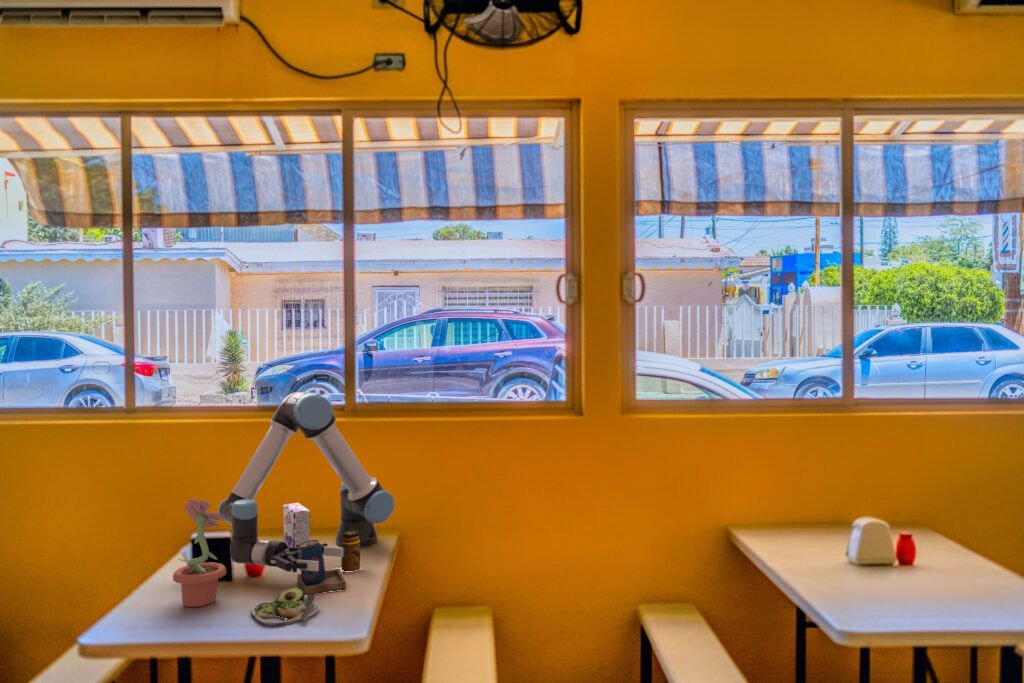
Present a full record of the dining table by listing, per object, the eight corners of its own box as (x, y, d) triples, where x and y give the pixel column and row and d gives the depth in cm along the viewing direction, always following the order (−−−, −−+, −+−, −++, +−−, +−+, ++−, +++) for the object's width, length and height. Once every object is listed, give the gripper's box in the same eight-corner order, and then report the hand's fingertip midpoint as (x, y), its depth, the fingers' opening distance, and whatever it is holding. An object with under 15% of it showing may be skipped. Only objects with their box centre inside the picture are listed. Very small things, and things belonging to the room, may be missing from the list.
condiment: (364, 570, 215) (364, 533, 215) (339, 575, 210) (338, 537, 210) (356, 564, 221) (356, 528, 221) (331, 568, 216) (331, 532, 216)
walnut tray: (339, 576, 208) (339, 568, 208) (345, 590, 197) (345, 581, 197) (297, 582, 203) (297, 574, 203) (301, 596, 192) (301, 587, 192)
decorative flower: (240, 597, 191) (239, 494, 192) (203, 615, 178) (202, 504, 179) (200, 591, 196) (200, 490, 197) (161, 608, 183) (161, 500, 184)
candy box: (282, 549, 237) (282, 504, 237) (299, 547, 240) (299, 501, 240) (293, 559, 225) (293, 511, 226) (310, 556, 229) (310, 509, 229)
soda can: (302, 589, 194) (295, 549, 193) (304, 580, 201) (297, 542, 200) (326, 583, 195) (319, 544, 195) (327, 575, 202) (321, 537, 202)
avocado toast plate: (334, 618, 177) (334, 601, 177) (266, 636, 166) (266, 618, 166) (309, 597, 192) (309, 581, 192) (245, 612, 181) (245, 595, 181)
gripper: (295, 553, 217) (352, 558, 211) (243, 578, 193) (306, 585, 187) (295, 530, 217) (352, 535, 211) (243, 553, 193) (306, 559, 187)
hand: (330, 559), depth 199 cm, fingers open, 13 cm apart
